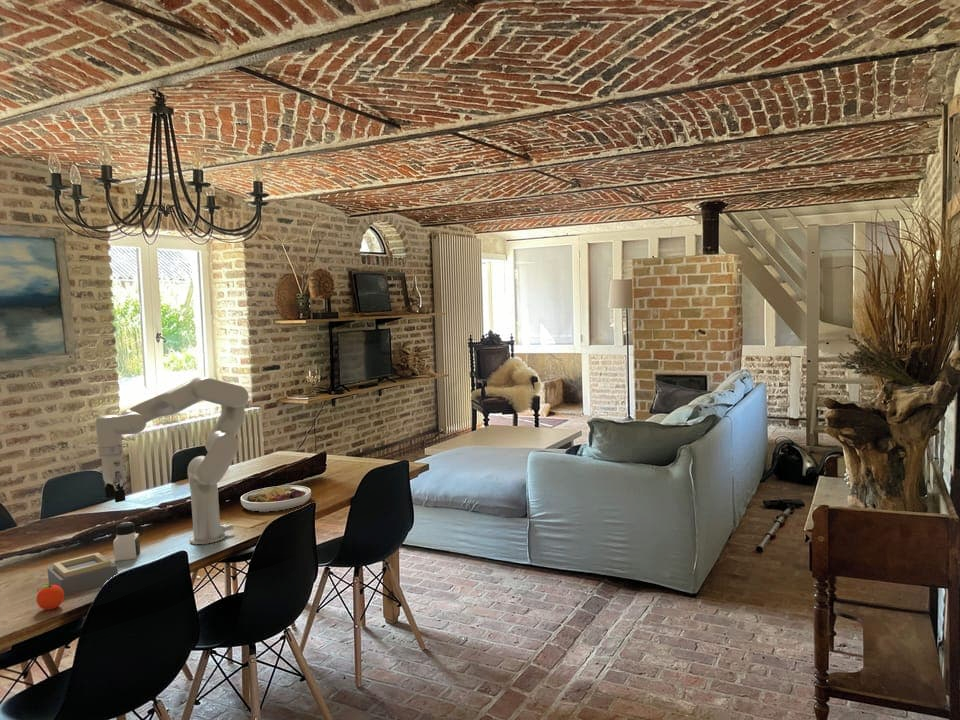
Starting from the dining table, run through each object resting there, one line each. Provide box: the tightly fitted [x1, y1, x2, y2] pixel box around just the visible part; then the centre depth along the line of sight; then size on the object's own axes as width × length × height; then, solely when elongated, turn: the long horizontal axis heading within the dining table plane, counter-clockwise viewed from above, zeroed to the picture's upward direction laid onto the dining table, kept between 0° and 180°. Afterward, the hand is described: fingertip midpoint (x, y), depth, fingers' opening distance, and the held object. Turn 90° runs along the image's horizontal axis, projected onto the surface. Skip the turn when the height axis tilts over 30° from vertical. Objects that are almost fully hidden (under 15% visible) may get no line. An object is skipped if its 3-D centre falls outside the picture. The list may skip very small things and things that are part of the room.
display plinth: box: [46, 552, 119, 596], centre depth 225 cm, size 16×16×6 cm
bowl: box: [240, 484, 312, 513], centre depth 312 cm, size 30×30×8 cm
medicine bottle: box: [112, 521, 141, 562], centre depth 248 cm, size 7×7×12 cm
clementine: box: [35, 584, 65, 611], centre depth 205 cm, size 8×7×7 cm
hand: (115, 499), depth 245 cm, fingers open, 9 cm apart
